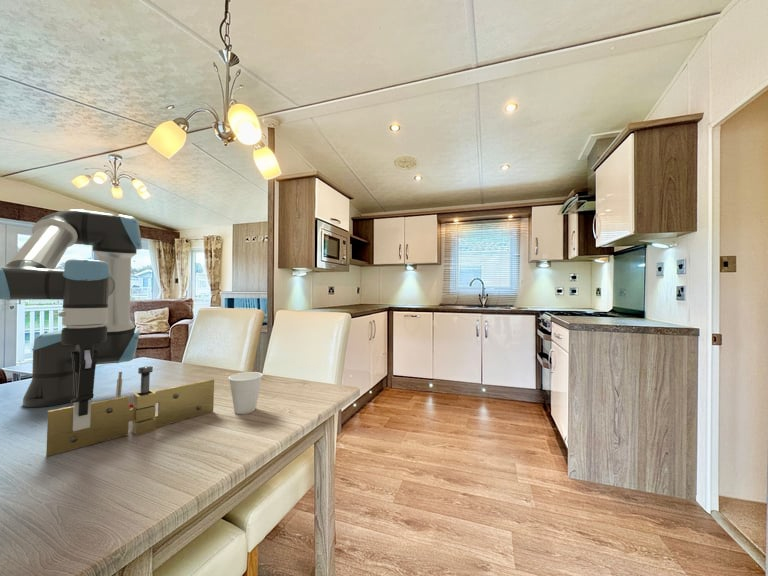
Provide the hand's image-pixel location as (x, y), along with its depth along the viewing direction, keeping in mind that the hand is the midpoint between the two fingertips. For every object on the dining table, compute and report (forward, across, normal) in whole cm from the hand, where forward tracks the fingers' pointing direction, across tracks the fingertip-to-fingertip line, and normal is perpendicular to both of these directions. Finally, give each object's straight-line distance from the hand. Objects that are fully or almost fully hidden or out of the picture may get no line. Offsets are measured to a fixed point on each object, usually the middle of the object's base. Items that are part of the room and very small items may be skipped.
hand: (81, 428), depth 69 cm
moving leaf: (+5, -3, +5) cm, 7 cm away
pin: (0, -2, +12) cm, 12 cm away
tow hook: (+6, -22, +13) cm, 26 cm away
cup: (+6, +5, +36) cm, 37 cm away
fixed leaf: (+5, -2, +20) cm, 21 cm away
